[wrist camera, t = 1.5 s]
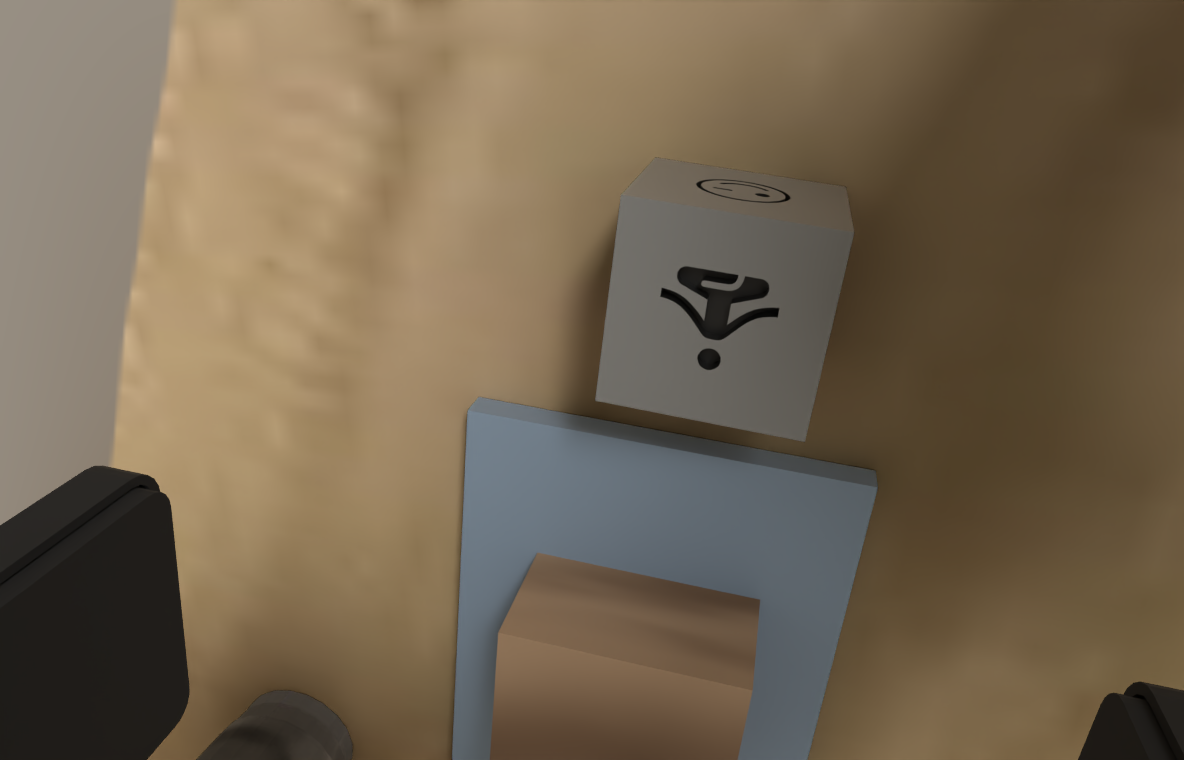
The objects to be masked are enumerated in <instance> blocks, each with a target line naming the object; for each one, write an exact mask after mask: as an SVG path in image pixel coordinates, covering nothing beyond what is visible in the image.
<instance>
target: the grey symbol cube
mask: <svg viewBox="0 0 1184 760" xmlns="http://www.w3.org/2000/svg"><path fill="white" fill-rule="evenodd" d="M853 236H854V227H853V222H852V217H851V211H850V206H849V200H848V195H847V189H846V187H844V186H838V185H831V184H825V183H818V182H812V181H806V180H799V179H793V178H786V177H780V176H773V175H767V174H760V173H754V172H747V171H741V170H734V169H728V168H721V167H715V166H708V165H702V164H695V163H689V162H682V161H676V160H670V159H663V158H657V157H655V159H654V160H653V161H652V162H651V163H650V164H649V165H648V166H647V167H646V168H645V169H644V170H643V172H642V173H641V174H640V175H639V176H638V177H637V178H636V179H635V180H634V181H633V182H632V183H631V184H630V186H629V187H628V188H627V189H626V190H625V191H624V192H623V193H622V194H621V199H620V207H619V215H618V223H617V231H616V239H615V247H614V255H613V263H612V271H611V279H610V287H609V295H608V303H607V311H606V319H605V327H604V335H603V342H602V350H601V358H600V366H599V374H598V382H597V390H596V398H595V401H599V402H604V403H610V404H615V405H620V406H625V407H630V408H635V409H640V410H645V411H650V412H655V413H660V414H665V415H670V416H675V417H681V418H686V419H691V420H696V421H701V422H706V423H711V424H716V425H721V426H726V427H731V428H736V429H741V430H746V431H751V432H757V433H762V434H767V435H772V436H777V437H782V438H787V439H792V440H797V441H802V442H805V439H806V435H807V431H808V427H809V422H810V418H811V414H812V410H813V406H814V401H815V397H816V393H817V389H818V384H819V380H820V376H821V372H822V367H823V363H824V359H825V355H826V350H827V346H828V342H829V338H830V334H831V329H832V325H833V321H834V317H835V312H836V308H837V304H838V300H839V295H840V291H841V287H842V283H843V278H844V274H845V270H846V266H847V262H848V257H849V253H850V249H851V245H852V240H853Z"/></svg>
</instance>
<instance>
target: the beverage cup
mask: <svg viewBox="0 0 1184 760" xmlns="http://www.w3.org/2000/svg"><path fill="white" fill-rule="evenodd" d="M351 759H352V741H351V739H350V736H349V733H348V730H347V729H346V727H345V726H344V724H343V723H342V722H341V720H340V719H339V717H338V716H337V715H336V714H335V713H334V712H332V711H331V710H330V709H329V708H328V707H327V706H325V705H324V704H323V703H321V702H319V701H317V700H315V699H313V698H312V697H310V696H308V695H305V694H301V693H297V692H293V691H272V692H269V693H266V694H263V695H261V696H260V697H259V698H258V699H256V700H255V701H254V702H253V703H252V704H251V705H250V707H249V708H248V709H247V711H245V712H244V713H243V714H242V715H241V716H240V717H239V718H238V719H237V720H235V721H234V722H232V723H231V724H230V725H229V726H228V727H227V728H226V729H225V730H224V731H223V732H222V733H221V734H220V735H219V736H218V737H217V738H216V739H215V740H214V741H213V742H212V743H211V745H210V746H209V747H208V748H207V749H206V750H205V751H204V752H203V753H202V754H201V755H200V756H199V757H198V758H197V759H196V760H351Z"/></svg>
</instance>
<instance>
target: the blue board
mask: <svg viewBox="0 0 1184 760" xmlns="http://www.w3.org/2000/svg"><path fill="white" fill-rule="evenodd" d="M877 489H878V484H877V477H876V471H875V470H869V469H864V468H859V467H853V466H848V465H842V464H837V463H832V462H826V461H821V460H816V459H810V458H805V457H799V456H794V455H789V454H783V453H778V452H772V451H767V450H762V449H756V448H751V447H745V446H740V445H735V444H729V443H724V442H719V441H713V440H708V439H702V438H697V437H692V436H686V435H681V434H675V433H670V432H665V431H659V430H654V429H649V428H643V427H638V426H632V425H627V424H622V423H616V422H611V421H605V420H600V419H595V418H589V417H584V416H578V415H573V414H568V413H562V412H557V411H552V410H546V409H541V408H535V407H530V406H525V405H519V404H514V403H508V402H503V401H498V400H492V399H487V398H481V397H478V398H477V400H476V401H475V402H474V403H473V404H472V406H471V407H470V408H469V409H468V414H467V436H466V459H465V481H464V503H463V525H462V548H461V570H460V592H459V615H458V637H457V659H456V681H455V704H454V726H453V748H452V760H490V748H491V733H492V718H493V704H494V689H495V674H496V659H497V644H498V632H499V630H500V628H501V626H502V624H503V622H504V620H505V618H506V616H507V614H508V612H509V610H510V608H511V606H512V604H513V601H514V599H515V597H516V595H517V593H518V591H519V589H520V587H521V585H522V583H523V581H524V579H525V577H526V575H527V573H528V571H529V569H530V567H531V565H532V563H533V561H534V559H535V556H536V554H537V553H542V554H547V555H552V556H556V557H561V558H566V559H570V560H575V561H580V562H585V563H589V564H594V565H599V566H603V567H608V568H613V569H618V570H622V571H627V572H632V573H636V574H641V575H646V576H651V577H655V578H660V579H665V580H670V581H674V582H679V583H684V584H688V585H693V586H698V587H703V588H707V589H712V590H717V591H721V592H726V593H731V594H736V595H740V596H745V597H750V598H755V599H759V600H760V609H759V621H758V633H757V645H756V657H755V668H754V680H753V691H752V696H751V700H750V705H749V710H748V714H747V719H746V723H745V728H744V733H743V737H742V742H741V746H740V751H739V756H738V760H807V759H808V756H809V752H810V748H811V744H812V740H813V736H814V732H815V729H816V725H817V721H818V717H819V713H820V709H821V705H822V702H823V698H824V694H825V690H826V686H827V682H828V678H829V675H830V671H831V667H832V663H833V659H834V655H835V651H836V648H837V644H838V640H839V636H840V632H841V628H842V624H843V621H844V617H845V613H846V609H847V605H848V601H849V597H850V593H851V590H852V586H853V582H854V578H855V574H856V570H857V566H858V563H859V559H860V555H861V551H862V547H863V543H864V539H865V536H866V532H867V528H868V524H869V520H870V516H871V512H872V509H873V505H874V501H875V497H876V493H877Z"/></svg>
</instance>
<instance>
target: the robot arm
mask: <svg viewBox="0 0 1184 760" xmlns="http://www.w3.org/2000/svg"><path fill="white" fill-rule="evenodd" d="M188 698H189V678H188V669H187V659H186V649H185V639H184V629H183V619H182V610H181V600H180V590H179V580H178V570H177V560H176V551H175V541H174V531H173V521H172V511H171V505H170V500H169V499H168V497H167V496H166V494H164V493H162V492H160V489H159V485H158V484H157V482H156V481H155V479H154V478H152V477H150V476H148V475H144V474H140V473H135V472H130V471H125V470H120V469H116V468H111V467H106V466H93V467H91V468H89V469H86V470H84V471H83V472H81V473H80V474H78V475H77V476H75V477H74V478H72V479H71V480H69V481H68V482H66V483H65V484H63V485H61V486H60V487H58V488H57V489H55V490H54V491H52V492H51V493H49V494H48V495H46V496H45V497H43V498H42V499H40V500H38V501H37V502H35V503H34V504H32V505H31V506H29V507H28V508H27V509H25V510H23V511H22V512H20V513H19V514H17V515H16V516H14V517H13V518H11V519H9V520H8V521H6V522H5V523H3V524H2V525H0V760H147V759H148V758H149V756H150V755H151V754H152V753H153V752H154V751H155V750H156V748H157V747H158V746H159V745H160V744H161V743H162V741H163V740H164V739H165V738H166V737H167V736H168V734H169V733H170V732H171V731H172V730H173V729H174V728H175V726H176V725H177V724H178V722H179V721H180V719H181V717H182V715H183V713H184V711H185V709H186V706H187V703H188ZM1078 760H1184V691H1183V690H1178V689H1173V688H1168V687H1164V686H1159V685H1154V684H1149V683H1144V682H1135V683H1133V684H1132V685H1130V686H1129V687H1128V688H1127V689H1126V691H1125V693H1124V695H1122V694H1117V693H1110V694H1108V695H1107V696H1106V697H1105V698H1104V700H1103V702H1102V703H1101V705H1100V708H1099V710H1098V713H1097V715H1096V717H1095V720H1094V722H1093V725H1092V727H1091V729H1090V732H1089V734H1088V737H1087V739H1086V742H1085V744H1084V746H1083V749H1082V751H1081V754H1080V756H1079V758H1078Z"/></svg>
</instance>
